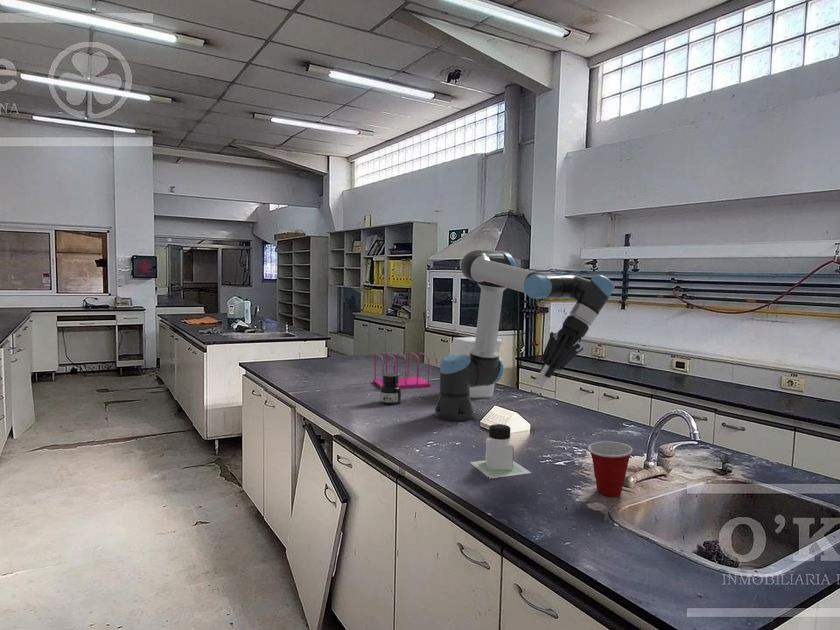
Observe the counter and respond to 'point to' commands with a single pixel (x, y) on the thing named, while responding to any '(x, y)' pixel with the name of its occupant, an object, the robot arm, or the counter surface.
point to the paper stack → (463, 348)
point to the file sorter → (405, 381)
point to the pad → (499, 473)
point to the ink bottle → (390, 389)
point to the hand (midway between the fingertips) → (538, 384)
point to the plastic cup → (610, 466)
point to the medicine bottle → (499, 448)
